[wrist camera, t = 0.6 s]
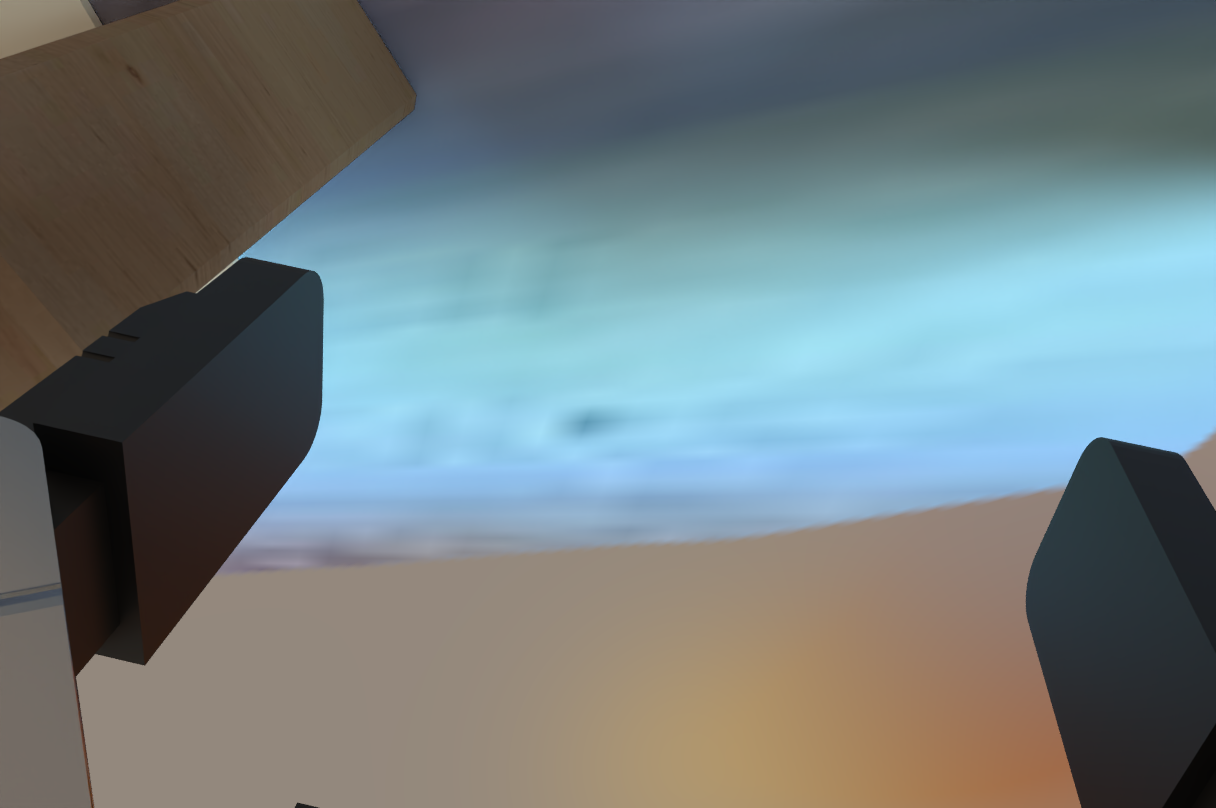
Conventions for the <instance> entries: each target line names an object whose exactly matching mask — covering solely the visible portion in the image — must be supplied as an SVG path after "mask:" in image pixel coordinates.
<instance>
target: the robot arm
mask: <svg viewBox="0 0 1216 808" xmlns="http://www.w3.org/2000/svg"><path fill="white" fill-rule="evenodd" d="M323 304H324V298H323V286H322V282H321V279H320V277H319V275H318V274H317V273H316V272H315V271H311V270H306V269H301V268H296V267H291V266H287V265H282V264H277V263H272V262H267V261H263V260H258V259H253V258H248V257H245V258H242V259H240V260H238V261H237V262H236V263H234V264H233V265H232V266H231V267H229V268H228V269H227V270H226V271H224V272H223V273H222V274H220V275H219V276H218V277H217V278H215V279H214V280H213V281H212V282H210V283H209V284H208V285H207V286H205V287H204V288H203V289H201V290H200V291H199V292H198V293H192V292H188V291H186V292H183V293H180V294H177V295H174V296H172V297H169V298H166V299H163V300H160V301H157V302H154V303H152V304H149V305H146V306H143V307H140V308H139V309H138V310H136V311H135V312H133V313H132V314H131V315H129V316H128V317H127V318H125V319H124V320H123V321H121V322H120V323H119V324H117V325H116V326H115V327H113V328H112V329H111V330H109V334H108V336H101V337H100V338H98V339H97V340H96V341H94V342H93V343H92V344H90V345H89V346H88V347H86V348H85V349H84V350H83V353H82V356H74V357H73V358H72V359H70V360H69V361H68V362H66V363H65V364H63V365H62V366H61V367H59V368H58V369H57V370H55V371H54V372H53V373H51V374H50V375H49V376H47V377H46V378H45V379H43V380H42V381H41V382H39V383H38V384H37V385H35V386H34V387H33V388H31V389H30V390H28V391H27V392H26V393H24V394H23V395H22V396H20V397H19V398H18V399H16V400H15V401H14V402H12V403H11V404H10V405H8V406H7V407H6V408H4V409H3V410H2V411H0V808H94V802H93V794H92V788H91V781H90V773H89V767H88V759H87V752H86V745H85V737H84V730H83V724H82V717H81V710H80V702H79V695H78V689H77V681H76V676H77V675H78V674H79V672H80V671H81V670H82V669H83V668H84V666H85V665H86V664H87V663H88V662H89V660H90V659H91V658H92V657H93V656H94V654H98V655H103V656H107V657H111V658H115V659H119V660H124V661H128V662H132V663H137V664H141V665H146V663H147V662H148V661H149V659H150V658H151V657H152V656H153V654H154V653H155V652H156V650H157V649H158V648H159V646H160V645H161V644H162V643H163V641H164V640H165V638H166V637H167V636H168V635H169V633H170V632H171V631H172V630H173V628H174V627H175V626H176V624H177V623H178V622H179V621H180V619H181V618H182V616H183V615H184V614H185V613H186V611H187V610H188V609H189V608H190V606H191V605H192V604H193V602H194V601H195V600H196V598H197V597H198V596H199V594H200V593H201V592H202V591H203V589H204V588H205V587H206V585H207V584H208V583H209V582H210V580H211V579H212V578H213V576H214V575H215V574H216V573H217V571H218V570H219V569H220V567H221V566H222V565H223V563H224V562H225V561H226V560H227V558H228V557H229V556H230V554H231V553H232V552H233V551H234V549H235V548H236V547H237V545H238V544H239V543H240V541H241V540H242V539H243V538H244V536H245V535H246V534H247V532H248V531H249V530H250V528H251V527H252V526H253V525H254V523H255V522H256V521H257V519H258V518H259V517H260V516H261V514H262V513H263V512H264V510H265V509H266V508H267V506H268V505H269V504H270V503H271V501H272V500H273V499H274V497H275V496H276V495H277V493H278V492H279V491H280V490H281V488H282V487H283V486H284V484H285V483H286V482H287V481H288V479H289V478H290V477H291V475H292V474H293V473H294V471H295V470H296V469H297V468H298V466H299V465H300V464H301V462H302V461H303V460H304V458H305V457H306V455H307V454H308V452H309V450H310V448H311V446H312V443H313V441H314V438H315V435H316V432H317V429H318V425H319V421H320V415H321V408H322V373H323ZM1026 612H1027V619H1028V623H1029V626H1030V630H1031V633H1032V637H1033V640H1034V643H1035V647H1036V651H1037V654H1038V657H1039V661H1040V665H1041V668H1042V672H1043V675H1044V679H1045V682H1046V685H1047V689H1048V692H1049V696H1050V699H1051V703H1052V706H1053V709H1054V713H1055V716H1056V720H1057V724H1058V727H1059V731H1060V734H1061V738H1062V741H1063V745H1064V748H1065V752H1066V755H1067V759H1068V762H1069V765H1070V769H1071V773H1072V776H1073V779H1074V783H1075V787H1076V790H1077V794H1078V797H1079V800H1080V804H1081V807H1082V808H1216V511H1215V509H1214V507H1213V506H1212V504H1211V503H1210V501H1209V499H1208V498H1207V496H1206V494H1205V493H1204V491H1203V489H1202V488H1201V486H1200V484H1199V483H1198V481H1197V479H1196V478H1195V476H1194V474H1193V473H1192V471H1191V469H1190V468H1189V466H1188V464H1187V463H1186V461H1185V460H1184V458H1183V457H1182V456H1181V455H1179V454H1178V453H1175V452H1170V451H1165V450H1161V449H1156V448H1151V447H1146V446H1141V445H1137V444H1132V443H1127V442H1122V441H1117V440H1113V439H1108V438H1103V437H1100V438H1096V439H1095V440H1093V441H1092V442H1091V443H1090V444H1089V445H1088V446H1087V447H1086V449H1085V450H1084V452H1083V453H1082V455H1081V457H1080V459H1079V461H1078V463H1077V465H1076V468H1075V470H1074V472H1073V474H1072V476H1071V479H1070V481H1069V483H1068V485H1067V487H1066V489H1065V492H1064V494H1063V496H1062V498H1061V500H1060V503H1059V505H1058V507H1057V509H1056V512H1055V514H1054V516H1053V518H1052V520H1051V522H1050V525H1049V527H1048V529H1047V531H1046V533H1045V535H1044V538H1043V540H1042V542H1041V544H1040V547H1039V549H1038V551H1037V553H1036V555H1035V558H1034V560H1033V563H1032V566H1031V569H1030V573H1029V577H1028V583H1027V591H1026ZM295 808H318V807H314V806H309V805H305V804H301V803H297V804H296V806H295Z"/></svg>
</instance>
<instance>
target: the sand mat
mask: <svg viewBox="0 0 1216 808" xmlns="http://www.w3.org/2000/svg"><path fill="white" fill-rule="evenodd" d="M99 26H102V23H101V22H100V20H99V18H98V17H97V15H96V13H95V11H94V10H93V8H92V6H91V4H90V3H89V1H88V0H0V59H2V58H5V57H8V56H11V55H14V54H17V53H20V52H23V51H26V50H29V49H32V48H35V47H38V46H41V45H44V44H47V43H50V42H53V41H56V40H59V39H62V38H66V37H69V36H72V35H75V34H78V33H81V32H84V31H87V30H90V29H93V28H96V27H99ZM237 261H238V258H237V259H236V260H234V261H233V262H232V263H231V264H230V265H228V266H227V267H226V268H225V269H224V270H222V271H221V272H220V273H219V274H218V275H216V276H215V277H214V278H213V279H212V280H211V281H209V282H208V283H207V284H206V285H205V286H207V285H208V284H209V283H210V282H212V281H213V280H214V279H215V278H217V277H218V276H219V275H220V274H222V273H223V272H224V271H226V270H227V269H228V268H229V267H231V266H232V265H233V264H234V263H236V262H237ZM205 286H203V287H202V288H201V289H203V288H204V287H205ZM201 289H200V290H201ZM200 290H199V291H200ZM199 291H197V292H196V293H198V292H199Z"/></svg>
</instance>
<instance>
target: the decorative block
mask: <svg viewBox="0 0 1216 808" xmlns="http://www.w3.org/2000/svg"><path fill="white" fill-rule="evenodd" d="M416 96H417V95H416V93H415V92H414V90H413V88H412V87H411V85H410V84H409V82H408V80H407V79H406V77H405V76H404V74H403V73H402V71H401V69H400V68H399V66H398V65H397V63H396V61H395V60H394V58H393V57H392V55H391V54H390V52H389V50H388V49H387V47H386V46H385V44H384V43H383V41H382V39H381V38H380V36H379V35H378V33H377V31H376V30H375V28H374V27H373V25H372V24H371V22H370V20H369V19H368V17H367V16H366V14H365V12H364V11H363V9H362V8H361V6H360V5H359V3H358V1H357V0H179V1H176V2H173V3H170V4H167V5H164V6H161V7H158V8H155V9H152V10H148V11H145V12H142V13H139V14H136V15H133V16H130V17H127V18H124V19H121V20H118V21H115V22H112V23H109V24H105V25H102V26H99V27H96V28H93V29H90V30H87V31H84V32H81V33H78V34H75V35H72V36H69V37H66V38H62V39H59V40H56V41H53V42H50V43H47V44H44V45H41V46H38V47H35V48H32V49H29V50H26V51H23V52H20V53H17V54H14V55H11V56H8V57H5V58H2V59H0V411H2V410H3V409H4V408H6V407H7V406H8V405H10V404H11V403H12V402H14V401H15V400H16V399H18V398H19V397H20V396H22V395H23V394H24V393H26V392H27V391H28V390H30V389H31V388H33V387H34V386H35V385H37V384H38V383H39V382H41V381H42V380H43V379H45V378H46V377H47V376H49V375H50V374H51V373H53V372H54V371H55V370H57V369H58V368H59V367H61V366H62V365H63V364H65V363H66V362H68V361H69V360H70V359H72V358H73V357H74V356H82V353H83V350H84V349H85V348H86V347H88V346H89V345H90V344H92V343H93V342H94V341H96V340H97V339H98V338H100V337H101V336H108V334H109V330H111V329H112V328H113V327H115V326H116V325H117V324H119V323H120V322H121V321H123V320H124V319H125V318H127V317H128V316H129V315H131V314H132V313H133V312H135V311H136V310H138V309H139V308H140V307H143V306H146V305H149V304H152V303H154V302H157V301H160V300H163V299H166V298H169V297H172V296H174V295H177V294H180V293H183V292H186V291H188V292H192V293H196V292H197V291H199V290H200V289H201V288H202V287H203V286H205V285H206V284H207V283H208V282H209V281H211V280H212V279H213V278H214V277H215V276H216V275H218V274H219V273H220V272H221V271H222V270H224V269H225V268H226V267H227V266H228V265H230V264H231V263H232V262H233V261H234V260H236V259H237V258H238V257H239V256H240V255H242V254H243V253H244V252H245V251H246V250H247V249H249V248H250V247H251V246H252V245H253V244H255V243H256V242H257V241H258V240H259V239H261V238H262V237H263V236H264V235H265V234H266V233H268V232H269V231H270V230H271V229H272V228H274V227H275V226H276V225H277V224H278V223H280V222H281V221H282V220H283V219H284V218H286V217H287V216H288V215H289V214H290V213H291V212H293V211H294V210H295V209H296V208H297V207H299V206H300V205H301V204H302V203H303V202H305V201H306V200H307V199H308V198H309V197H311V196H312V195H313V194H314V193H315V192H317V191H318V190H319V189H320V188H321V187H323V186H324V185H325V184H326V183H327V182H328V181H330V180H331V179H332V178H333V177H334V176H336V175H337V174H338V173H339V172H340V171H342V170H343V169H344V168H345V167H346V166H348V165H349V164H350V163H351V162H352V161H354V160H355V159H356V158H357V157H358V156H360V155H361V154H362V153H363V152H364V151H366V150H367V149H368V148H369V147H370V146H371V145H373V144H374V143H375V142H376V141H377V140H379V139H380V138H381V137H382V136H383V135H385V134H386V133H387V132H388V131H389V130H391V129H392V128H393V127H394V126H395V125H396V124H398V123H399V122H400V121H401V120H402V119H404V118H405V117H406V116H407V115H408V114H410V113H411V112H412V111H413V110H414V108H415V102H416Z"/></svg>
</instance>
